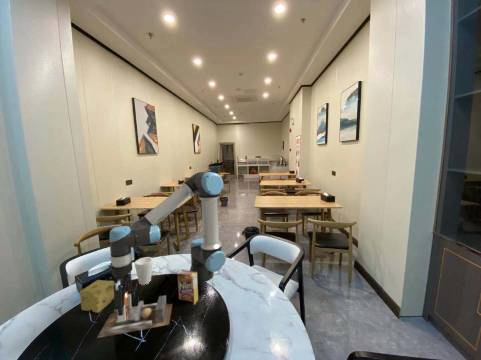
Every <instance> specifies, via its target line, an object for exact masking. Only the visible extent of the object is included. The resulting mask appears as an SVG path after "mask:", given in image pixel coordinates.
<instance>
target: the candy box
mask: <svg viewBox="0 0 481 360" xmlns="http://www.w3.org/2000/svg"><path fill="white" fill-rule="evenodd" d="M177 285H178V300H181V301H186V302H189V303H193V306H195V305H196V304H197V302H198V301H199V289H198V288H199V287H198V283H197V272H193V271H190V270H186V269H181V270H180V271H178V273H177Z"/></svg>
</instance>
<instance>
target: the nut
mask: <svg viewBox="0 0 481 360" xmlns="http://www.w3.org/2000/svg"><path fill="white" fill-rule="evenodd" d="M151 314H152V310H151V309H150V308H146V309H144V310H143V312H142V317H143V318H144V319H147V318H149V317H150V316H151Z"/></svg>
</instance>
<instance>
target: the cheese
mask: <svg viewBox="0 0 481 360" xmlns="http://www.w3.org/2000/svg"><path fill="white" fill-rule="evenodd" d="M114 285H116V282H115V280H101V279H97V280H95V281H94V282H92V283H91V284H89V285H87V286H86V287H85V288H83V289H80V290H79V296H80V307H81V311H87V312H90V311H92V312H93V313H101V311H102V310H103V309H105V307H107V306H109V305H110V304H111V303H112V302H113V301H114V289H113V286H114Z"/></svg>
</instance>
